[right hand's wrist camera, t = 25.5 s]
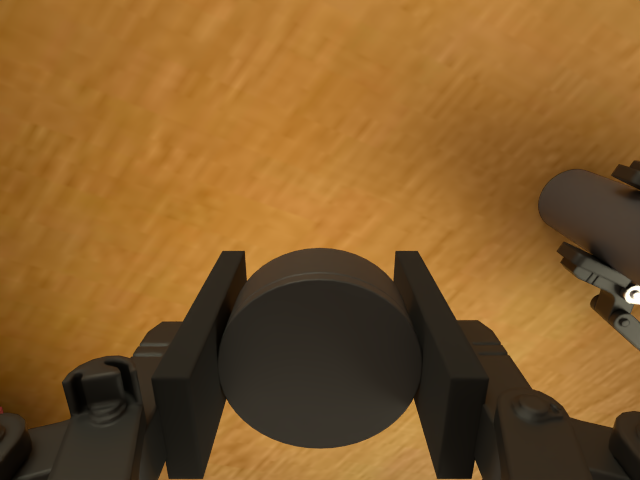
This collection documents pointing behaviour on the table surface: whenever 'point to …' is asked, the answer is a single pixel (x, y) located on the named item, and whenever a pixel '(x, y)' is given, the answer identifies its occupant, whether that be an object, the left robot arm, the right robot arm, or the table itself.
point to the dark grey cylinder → (596, 217)
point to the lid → (319, 350)
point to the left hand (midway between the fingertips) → (595, 213)
